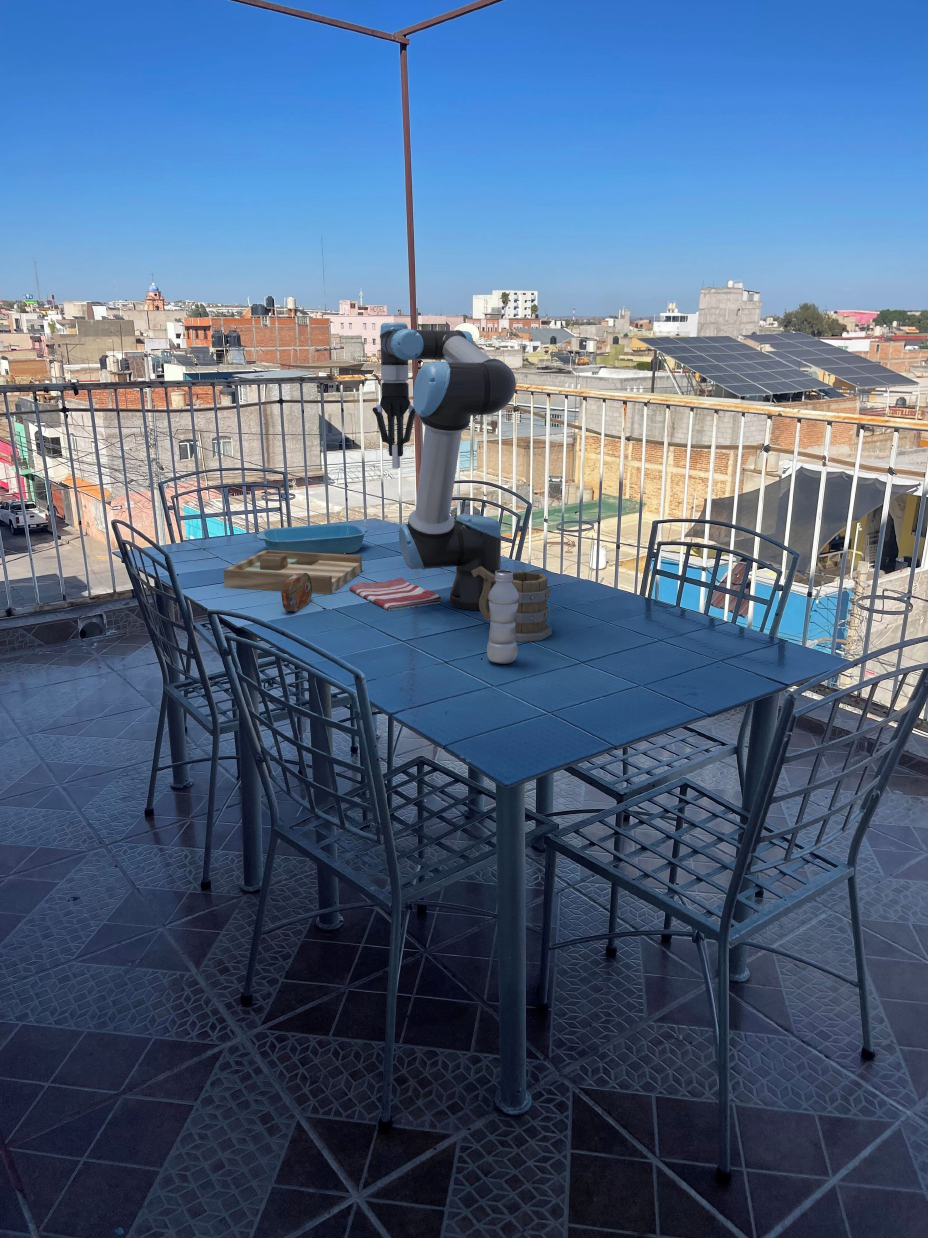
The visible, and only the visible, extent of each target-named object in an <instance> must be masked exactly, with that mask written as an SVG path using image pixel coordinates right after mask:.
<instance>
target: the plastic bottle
mask: <svg viewBox="0 0 928 1238" xmlns="http://www.w3.org/2000/svg"><path fill="white" fill-rule="evenodd" d="M513 572H514V571H512V570H509V569H500V570H497V571H495V581H496V583H495V584H494V586H493V587H492V589H491V590H490V592H489V595H488V600H489V608H490V620H491V621H489V622H490V623H489V624H490V626H489V635H488V641H487V646H486V655H487V658H488V660H489V661H490V662H492V663H494V664H499V665H500V664H506V665H507V664H511V663H513V662H514V661H515V660H516V658H517V656H518V655H517V654H518V644H517V643H518V642H517V641H516V632H515V624H516V622H515V621H516V613H517V607H518V601H519V594H518V591H517V590H516V588H515V587H514V585H513V584H512V581H513Z"/></svg>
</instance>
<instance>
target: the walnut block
mask: <svg viewBox="0 0 928 1238" xmlns="http://www.w3.org/2000/svg"><path fill="white" fill-rule="evenodd" d="M259 559H260V570H273V571H280V570H282V569H284V568H285V567H287V566H288V560H287V555H285V554H266V555H264V556H262V557H260V558H259Z"/></svg>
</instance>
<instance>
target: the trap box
mask: <svg viewBox="0 0 928 1238" xmlns="http://www.w3.org/2000/svg"><path fill="white" fill-rule="evenodd" d="M266 554H285V555H287V560H288V566H287V567H285V568H284V569H282V570H280V571H273V570H260V559H259V558H260V557H262V556H264V555H266ZM362 559H363V557H362V555H361V554H358V555H357V554H327V553H310V552H292V551H274V550H268V549H263V550H262V551H260V552H257V553H255V554H254V555H252V556H250V557H248V558H246V559H244V560H242V561H240V562H238V563H236V564H234V565H232V566H230V567H227V568H225V569H224V570H223V581H224V588H227V589H229V588H230V589H242V590H256V591H258V590H259V591H270V590H271V591H273V592H274V591H275V592H281V589H282V585H283V583H284V582H285V581H286V580H287V579H289V578H291V577H292V576H294V575H295V574H297V573H307V574H308V575H309V576H310V579H311V583H312V594H317V593H318V594H317V595H332V594H333V593H335V592H336V591H337V590H338V589H341V587H343V586H345V584H347V583H349V582H350V581H352V580H353V579H354V578H355V577H357V576H359V575H360V572H361V573H362V572H363V560H362Z"/></svg>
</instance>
